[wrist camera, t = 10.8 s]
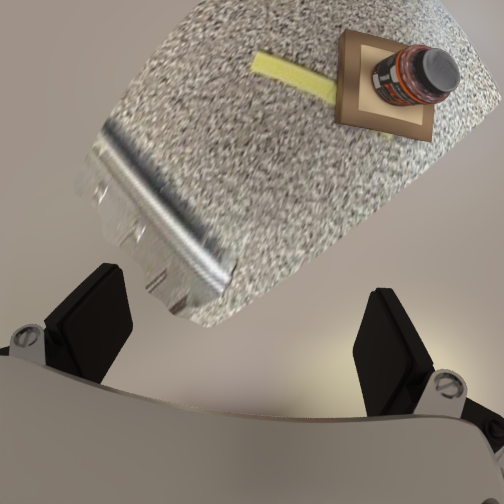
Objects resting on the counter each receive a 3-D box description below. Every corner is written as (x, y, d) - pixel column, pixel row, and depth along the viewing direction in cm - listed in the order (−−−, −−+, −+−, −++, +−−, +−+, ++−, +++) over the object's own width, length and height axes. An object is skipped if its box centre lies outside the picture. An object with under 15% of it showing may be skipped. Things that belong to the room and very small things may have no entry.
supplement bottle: (364, 95, 27) (405, 82, 16) (375, 52, 24) (416, 24, 14) (409, 115, 27) (462, 115, 17) (419, 73, 24) (472, 58, 14)
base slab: (339, 38, 27) (346, 28, 23) (421, 60, 27) (436, 54, 23) (334, 123, 32) (341, 122, 28) (417, 140, 32) (432, 142, 28)
